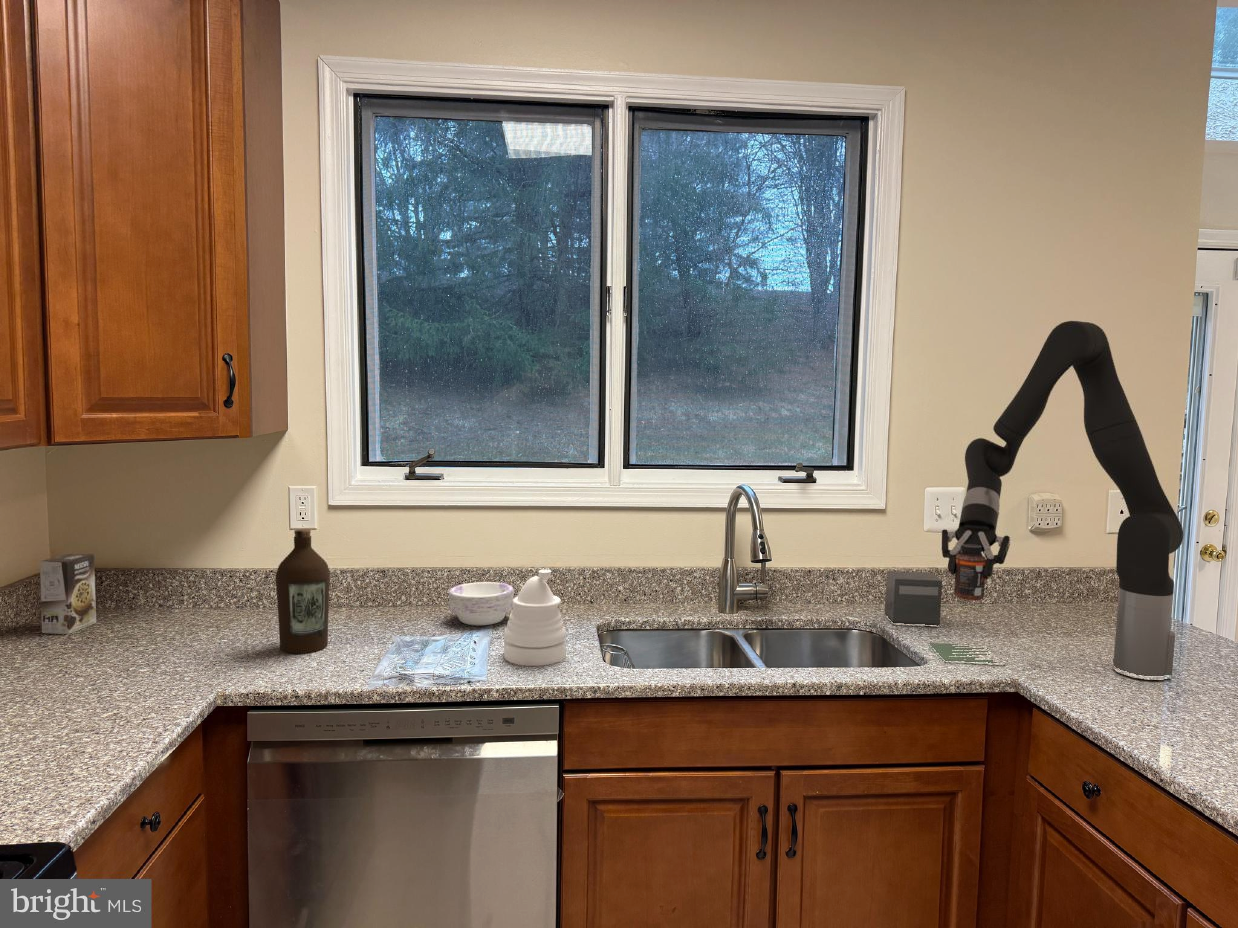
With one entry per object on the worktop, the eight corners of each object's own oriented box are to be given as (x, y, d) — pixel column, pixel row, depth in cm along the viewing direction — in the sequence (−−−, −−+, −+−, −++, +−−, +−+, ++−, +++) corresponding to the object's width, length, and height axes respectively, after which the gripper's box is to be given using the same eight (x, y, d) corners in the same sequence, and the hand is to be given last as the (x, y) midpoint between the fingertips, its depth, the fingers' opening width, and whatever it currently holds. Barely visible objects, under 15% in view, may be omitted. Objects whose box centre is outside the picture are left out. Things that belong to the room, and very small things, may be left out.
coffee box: (70, 634, 175) (67, 561, 173) (40, 633, 175) (37, 560, 174) (98, 622, 184) (95, 553, 182) (70, 622, 184) (67, 552, 183)
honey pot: (574, 649, 172) (575, 566, 170) (553, 668, 159) (554, 579, 158) (518, 643, 175) (519, 561, 173) (493, 661, 163) (494, 574, 161)
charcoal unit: (928, 616, 203) (931, 572, 202) (940, 628, 193) (943, 581, 192) (884, 614, 204) (886, 570, 203) (893, 625, 194) (895, 579, 193)
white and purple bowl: (443, 615, 196) (443, 583, 195) (504, 609, 202) (504, 578, 201) (455, 632, 182) (456, 598, 181) (520, 626, 188) (521, 593, 187)
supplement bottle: (987, 601, 168) (990, 548, 167) (956, 599, 170) (959, 547, 169) (980, 594, 174) (983, 543, 173) (951, 593, 175) (954, 542, 174)
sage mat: (984, 648, 178) (984, 645, 178) (1004, 665, 166) (1004, 663, 166) (928, 645, 179) (929, 642, 179) (944, 662, 167) (944, 659, 167)
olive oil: (272, 644, 171) (270, 528, 169) (324, 636, 177) (322, 524, 175) (282, 658, 162) (280, 536, 160) (336, 649, 168) (335, 531, 166)
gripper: (944, 499, 180) (931, 560, 171) (1015, 504, 173) (1005, 569, 164) (946, 519, 185) (934, 580, 176) (1016, 526, 178) (1007, 589, 169)
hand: (969, 574), depth 170 cm, fingers closed on supplement bottle, 6 cm apart
